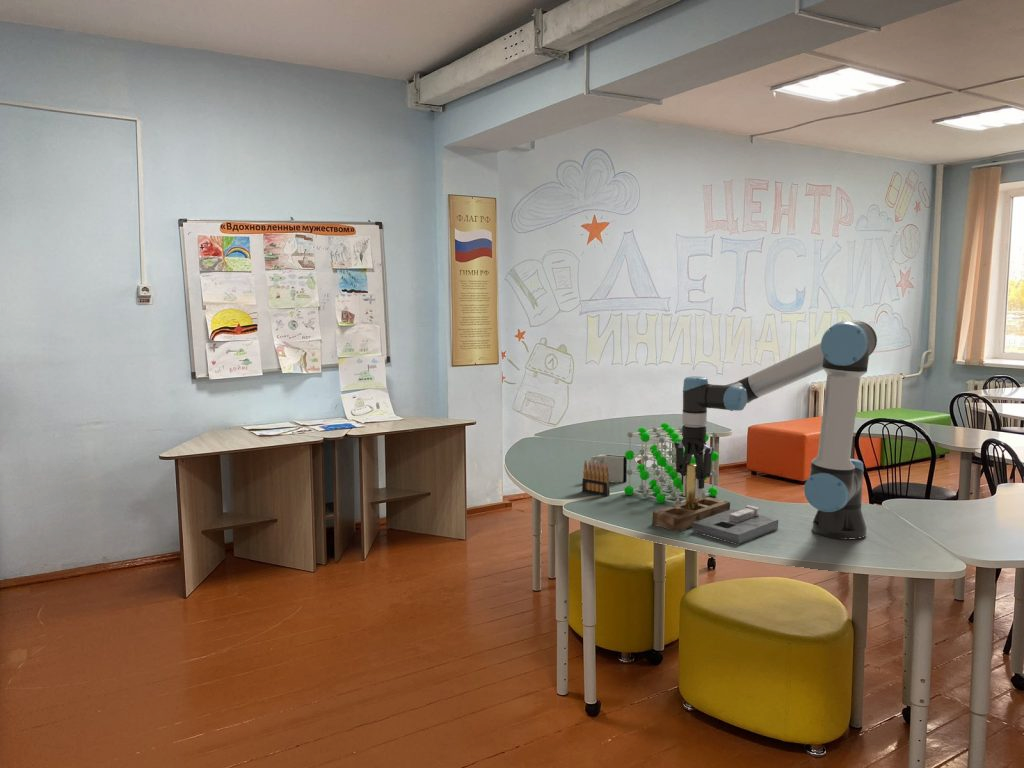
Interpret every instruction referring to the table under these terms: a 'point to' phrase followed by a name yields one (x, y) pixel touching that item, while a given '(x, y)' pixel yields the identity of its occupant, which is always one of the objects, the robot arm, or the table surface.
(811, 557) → the table surface
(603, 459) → the grey rectangular box
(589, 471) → the ammunition clip
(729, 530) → the socket housing
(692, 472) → the peg
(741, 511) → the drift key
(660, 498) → the molecular structure model
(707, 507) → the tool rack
